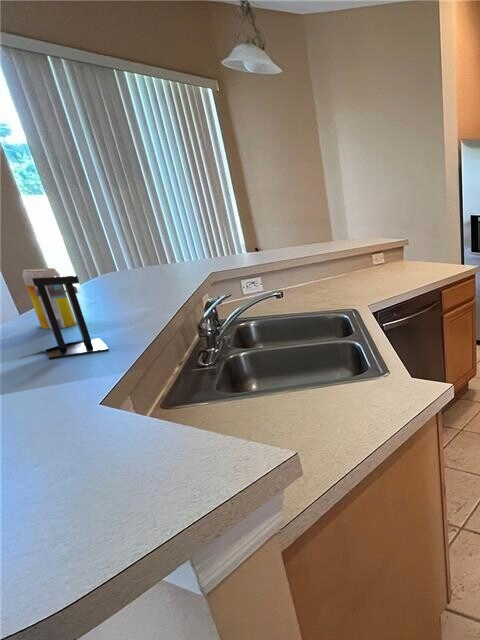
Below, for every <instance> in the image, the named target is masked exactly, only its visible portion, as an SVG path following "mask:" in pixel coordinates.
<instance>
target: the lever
mask: <svg viewBox="0 0 480 640" xmlns="http://www.w3.org/2000/svg"><path fill="white" fill-rule="evenodd" d="M32 280H33V283H34V286H46V285H47V288H48V291H49V294H50V297H51V299H56V298H66V295H67V292H66V289H65V286H64V284H73V285H74V284H76V285H77V284H80V279H79V277H78V275H65V276H64V275H63V276H61V275H60V277H44V278H32ZM63 286H64V287H63ZM64 289H65V290H64ZM65 292H66V293H65Z"/></svg>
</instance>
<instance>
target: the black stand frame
mask: <svg viewBox="0 0 480 640" xmlns="http://www.w3.org/2000/svg"><path fill="white" fill-rule="evenodd" d="M63 286H64V289H65V292H66V295H67V298H68V301H69V304H70V307H71V310H72V313H73V316H74V319H75V322H76V325H77V327H78V330H79V333H80V336H81V339H82V340H79V341H72V342H71V341H70V342H67V343H65V340H64V337H63V333H62V331H61V328H59V325H58V323H57V320H56V317H55V314H54V311H53V308H52V305H51V303H50V300H49V297H48V294H47V291H46V288H45V286H37V289H34V290H35V293H36V295H37V296H40V297H41V300H42V303H43V306H44V308H45V311H46V314H47V317H48V320H49V322H50V325H51V328H52V329H51V331H52V334H53V337H54V339H55V342H56V346H53V347H50V348H47V349H45V353H46V355H47V358H48V360H49V361H51V360H57V359H65V358H71V357H77V356H78V357H79V356H83V355H90V354H97V353H103V352H109V351H110V350H109V348H108V347H107V345H106V344H105V343H104V341H103V340H101V338H94V339H91V336H90V332H89V330H88V326H87V322H86V320H85V318H84V314H83V311H82V309H81V305H80V302H79V299H78V296H77V294H78V293H79V291H78V288H77V286H76V285H74V284H63Z"/></svg>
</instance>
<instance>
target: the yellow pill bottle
mask: <svg viewBox="0 0 480 640" xmlns="http://www.w3.org/2000/svg"><path fill="white" fill-rule="evenodd" d="M22 271H23V273H22V278H23V281H24V284H25V287H26V290H27V292H28V294H29V297H30V300H31V303H32V305H33V308H34V311H35V313H36V317H37V319H38V322H39V325H40V328H41V329H43V330H44V329H45V330H52V328H51V325H50V322H49V320H48V317H47V314H46V311H45V308H44V306H43V303H42V300H41V297H40V296H37V295H36V293H35V290H34V289H37V286H34V283H33V280H32V278H44V277H61V274H60V273H59V271H57V270H56V268H53V267H51V268H50V267H48V268H47V267H44V268H43V267H41V268H40V267H39V268H28V269H23V270H22ZM63 287H64V290H65V293H66V298H56V299H51V297H50V294H49V291H48V288H47V285H46V286H45V288H46V291H47V294H48V297H49V300H50V303H51V305H52V308H53V311H54V314H55V317H56V320H57V323H58V325H59V328H60V329H65V328H69V327H75V326H76V325H77V321H76V318H75V315H74V312H73V309H72V306H71V303H70V300H69V297H68V294H67V291H66V289H65V286H64V285H63Z"/></svg>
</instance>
